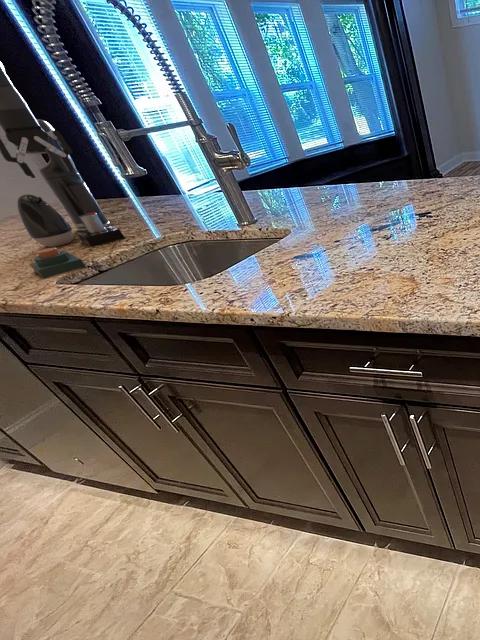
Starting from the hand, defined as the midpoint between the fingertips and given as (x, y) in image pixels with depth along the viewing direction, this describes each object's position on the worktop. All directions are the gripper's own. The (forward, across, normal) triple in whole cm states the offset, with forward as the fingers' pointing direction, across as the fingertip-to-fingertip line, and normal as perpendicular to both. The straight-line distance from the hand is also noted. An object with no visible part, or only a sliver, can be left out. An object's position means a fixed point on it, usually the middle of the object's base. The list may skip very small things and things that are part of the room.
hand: (52, 174), depth 122 cm
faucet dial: (+17, -3, -4) cm, 18 cm away
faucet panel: (+20, -3, -4) cm, 21 cm away
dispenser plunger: (+17, +13, +19) cm, 29 cm away
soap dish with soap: (+20, +14, +19) cm, 31 cm away
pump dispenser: (+20, +6, -15) cm, 26 cm away
